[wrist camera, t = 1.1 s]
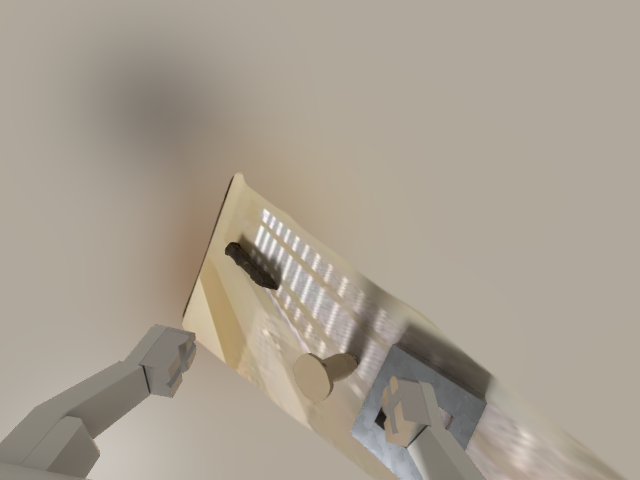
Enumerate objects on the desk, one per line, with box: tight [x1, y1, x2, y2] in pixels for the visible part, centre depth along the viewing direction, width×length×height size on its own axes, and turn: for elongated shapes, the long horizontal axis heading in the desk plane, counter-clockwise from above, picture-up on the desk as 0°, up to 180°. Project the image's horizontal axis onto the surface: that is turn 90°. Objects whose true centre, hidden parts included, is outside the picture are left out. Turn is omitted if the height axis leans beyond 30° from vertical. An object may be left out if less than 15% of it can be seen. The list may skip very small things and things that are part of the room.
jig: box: [350, 343, 487, 480], centre depth 41 cm, size 14×16×4 cm
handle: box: [293, 353, 358, 403], centre depth 43 cm, size 5×6×15 cm
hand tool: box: [225, 242, 277, 290], centre depth 65 cm, size 19×4×5 cm, turn 50°
